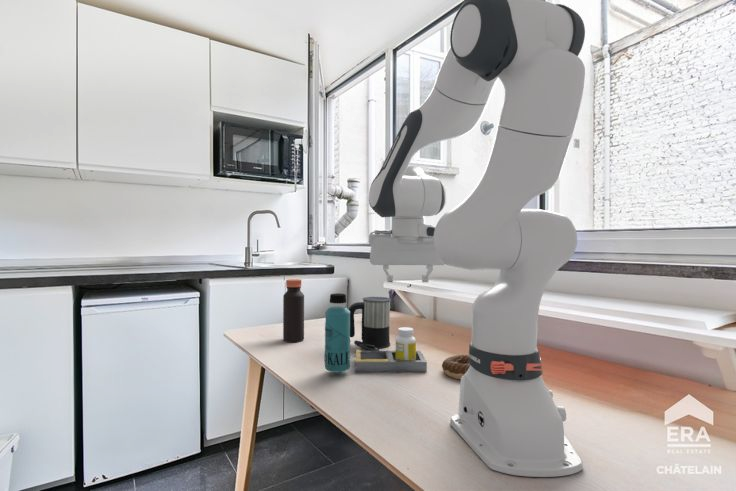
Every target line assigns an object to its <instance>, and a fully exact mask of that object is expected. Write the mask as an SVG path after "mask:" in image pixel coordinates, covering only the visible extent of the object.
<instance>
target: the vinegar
mask: <svg viewBox="0 0 736 491" xmlns="http://www.w3.org/2000/svg"><path fill="white" fill-rule="evenodd" d="M285 282H286V283H285V284H286V289H287V290H286V292H284V294H283V298H282V303H283V304H282V309H283V310H282V312H283V315H282V318H283V319H282V320H283V322H282V323H283V324H282V334H283V335H282V337H283V342H285V341H286V342H285V343H292V342H293V343H298V342H297V341H300V342H303V341H304V340H303V339H305V295H304V293H303V292H302V290H301V289H302V279H299V278H295V279H293V278H291V279H290V278H289V279H286V281H285ZM302 340H303V341H302Z"/></svg>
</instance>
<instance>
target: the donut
mask: <svg viewBox="0 0 736 491" xmlns="http://www.w3.org/2000/svg"><path fill="white" fill-rule="evenodd" d="M469 367H470V364H469V355H468V354H461V355H460V354H458V355H452V356H449V357H447V358H446V359H444V360H443V362H442V363H441V368H442V371H443V372H444V374H445V375H447V376H448V377H450V378H452V379H455V380H460V381H461V377H462V376H463V375H464V374H465V373H466V372H467V371H468V369H469Z"/></svg>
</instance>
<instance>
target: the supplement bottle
mask: <svg viewBox="0 0 736 491" xmlns="http://www.w3.org/2000/svg"><path fill="white" fill-rule="evenodd" d="M397 334H398V336H396V337H395V351H396V360H416V351H417V342H416V341H417V340H416V337H414V336H413V335H414V328H413V327H407V326H404V327H398V330H397Z"/></svg>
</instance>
